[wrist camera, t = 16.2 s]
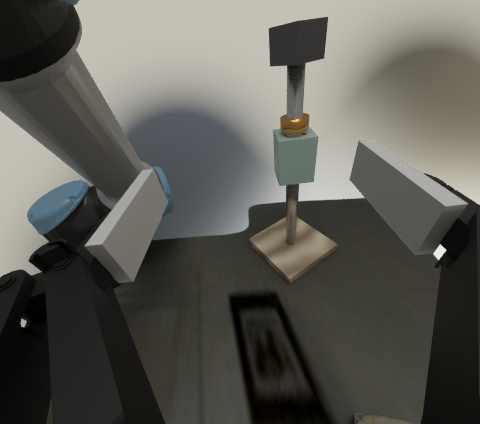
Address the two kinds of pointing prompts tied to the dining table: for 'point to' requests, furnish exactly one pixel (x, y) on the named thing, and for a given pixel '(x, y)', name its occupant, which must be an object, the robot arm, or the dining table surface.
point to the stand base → (292, 249)
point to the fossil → (378, 419)
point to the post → (296, 87)
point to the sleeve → (295, 157)
